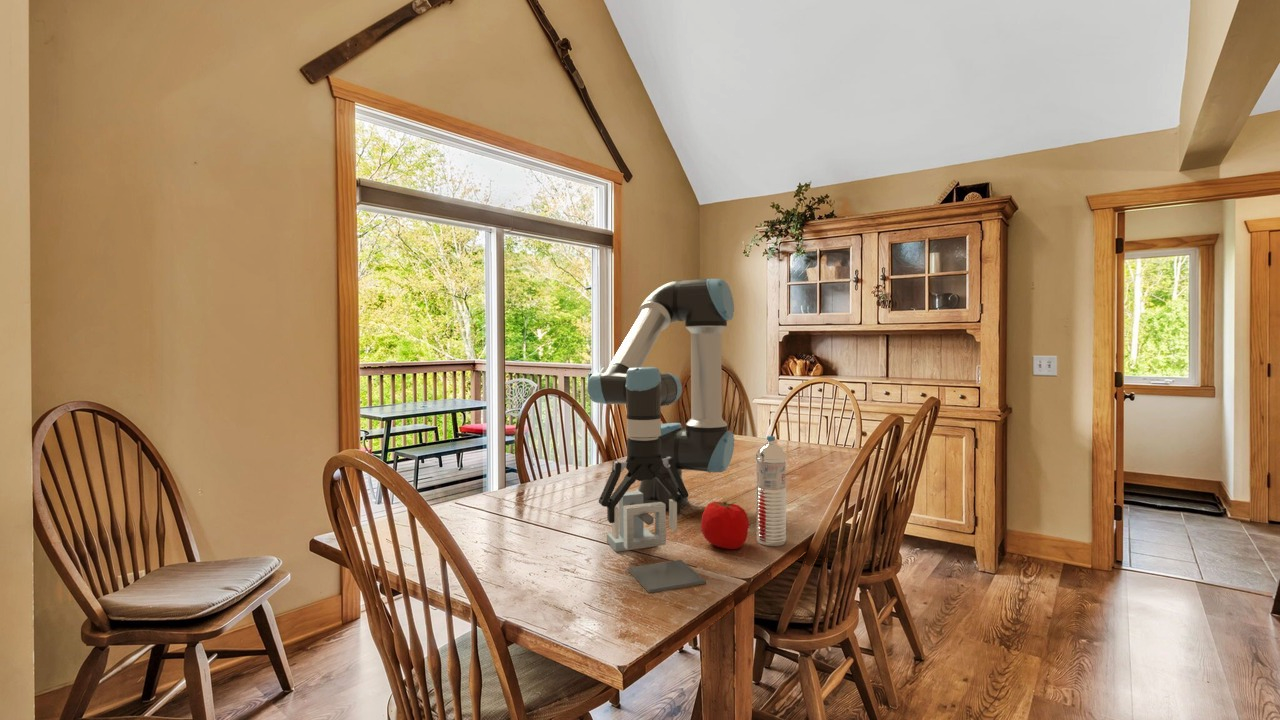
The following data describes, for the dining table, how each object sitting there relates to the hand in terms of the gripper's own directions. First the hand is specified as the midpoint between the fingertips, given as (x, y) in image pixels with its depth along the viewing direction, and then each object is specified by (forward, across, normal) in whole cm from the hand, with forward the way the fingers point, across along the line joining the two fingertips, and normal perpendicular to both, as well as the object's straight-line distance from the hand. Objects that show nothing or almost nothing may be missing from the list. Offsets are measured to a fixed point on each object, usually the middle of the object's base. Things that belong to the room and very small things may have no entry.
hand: (644, 533), depth 132 cm
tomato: (+6, -20, 0) cm, 21 cm away
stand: (+5, 0, -5) cm, 7 cm away
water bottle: (+5, -31, +2) cm, 32 cm away
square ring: (+3, 0, 0) cm, 3 cm away
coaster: (+5, 0, +12) cm, 13 cm away
